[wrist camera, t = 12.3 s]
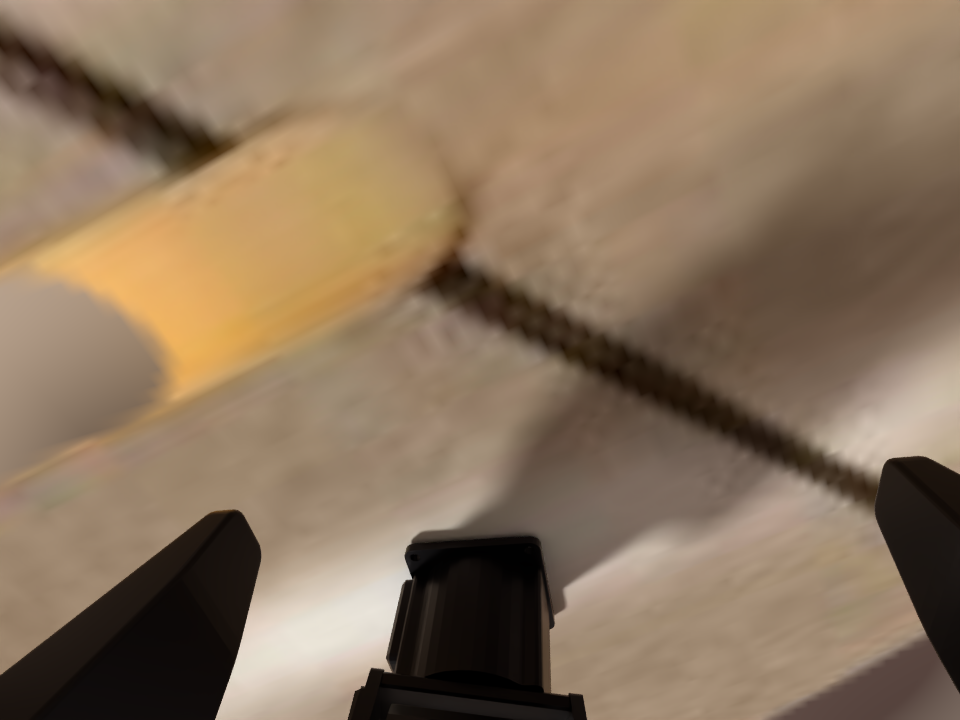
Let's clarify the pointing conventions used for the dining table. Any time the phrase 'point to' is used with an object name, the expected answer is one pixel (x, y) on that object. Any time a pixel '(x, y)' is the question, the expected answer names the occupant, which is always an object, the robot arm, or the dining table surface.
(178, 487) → the dining table surface
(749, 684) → the dining table surface
